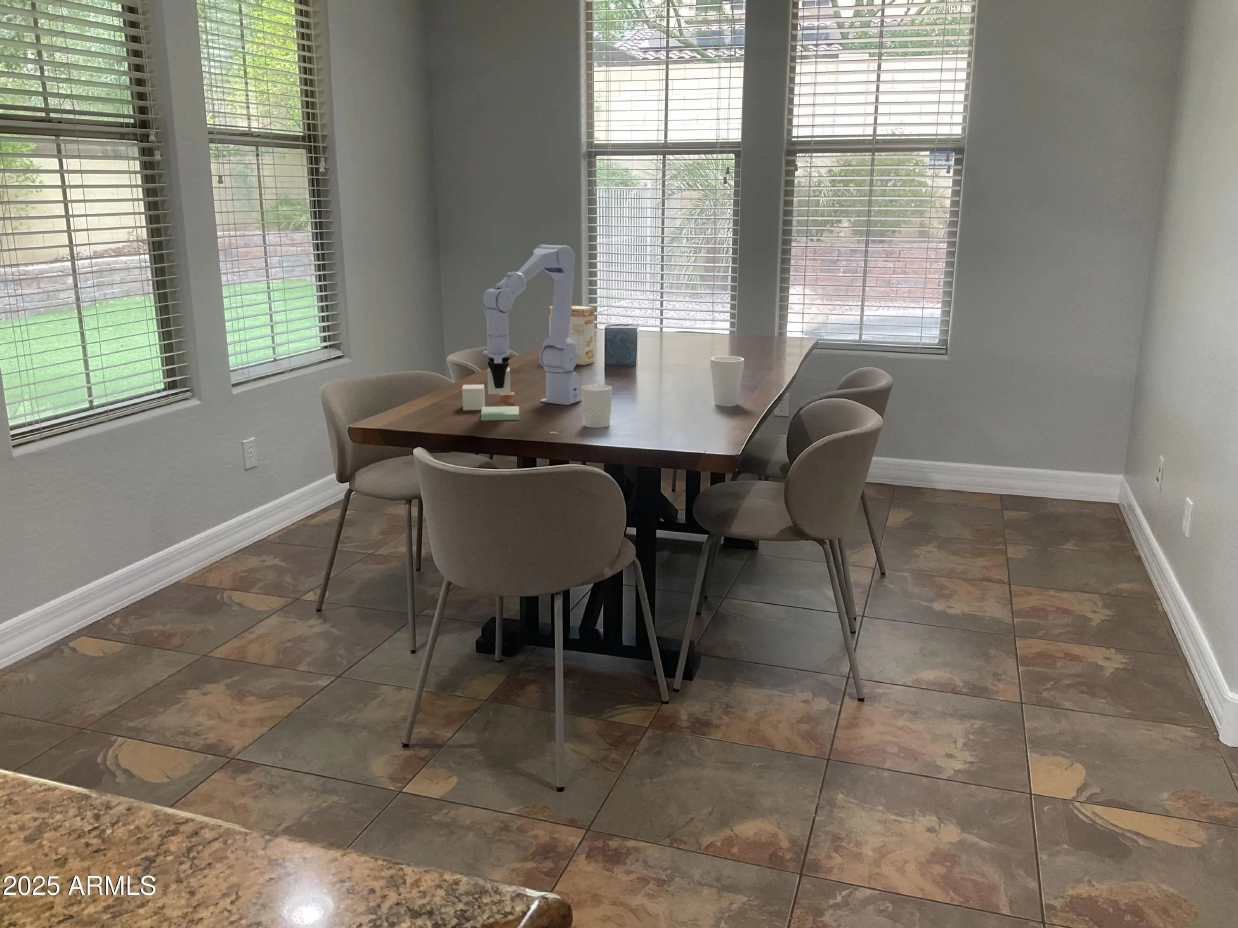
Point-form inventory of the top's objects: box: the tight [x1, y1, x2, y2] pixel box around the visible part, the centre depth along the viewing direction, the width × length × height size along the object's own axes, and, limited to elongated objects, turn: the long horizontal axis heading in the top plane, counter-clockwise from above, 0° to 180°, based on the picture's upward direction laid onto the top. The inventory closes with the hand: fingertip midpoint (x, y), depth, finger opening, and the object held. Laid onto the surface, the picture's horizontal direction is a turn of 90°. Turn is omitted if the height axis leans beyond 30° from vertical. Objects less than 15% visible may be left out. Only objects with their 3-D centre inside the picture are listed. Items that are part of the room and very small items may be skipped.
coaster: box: [480, 405, 520, 421], centre depth 269 cm, size 10×10×2 cm
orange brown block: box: [499, 391, 516, 407], centre depth 280 cm, size 4×4×4 cm
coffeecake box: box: [548, 305, 596, 366], centre depth 350 cm, size 15×7×20 cm, turn 58°
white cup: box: [580, 383, 613, 429], centre depth 258 cm, size 8×8×10 cm
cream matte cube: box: [486, 366, 511, 395], centre depth 267 cm, size 6×6×6 cm
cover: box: [461, 384, 486, 411], centre depth 279 cm, size 6×6×6 cm
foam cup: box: [709, 355, 745, 407], centre depth 283 cm, size 10×9×13 cm
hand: (499, 385), depth 267 cm, fingers closed on cream matte cube, 6 cm apart
